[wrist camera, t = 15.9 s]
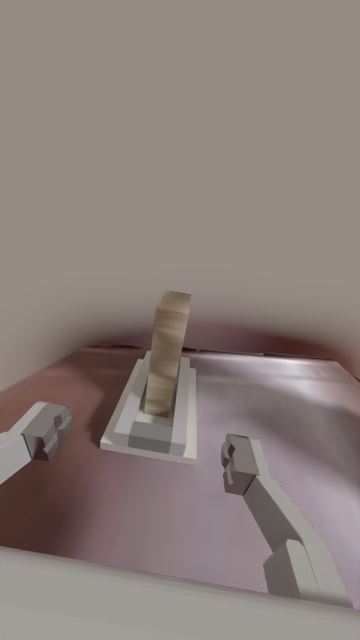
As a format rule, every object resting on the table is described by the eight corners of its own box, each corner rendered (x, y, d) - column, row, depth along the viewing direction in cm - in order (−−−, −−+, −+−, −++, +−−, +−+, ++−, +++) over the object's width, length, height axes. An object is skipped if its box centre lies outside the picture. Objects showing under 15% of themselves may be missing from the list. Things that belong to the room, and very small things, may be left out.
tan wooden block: (173, 382, 28) (190, 294, 22) (168, 418, 22) (188, 313, 16) (154, 379, 28) (165, 290, 22) (144, 413, 22) (155, 307, 16)
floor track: (194, 374, 32) (198, 359, 31) (194, 465, 19) (200, 447, 18) (137, 364, 32) (139, 349, 31) (100, 449, 19) (99, 429, 18)
